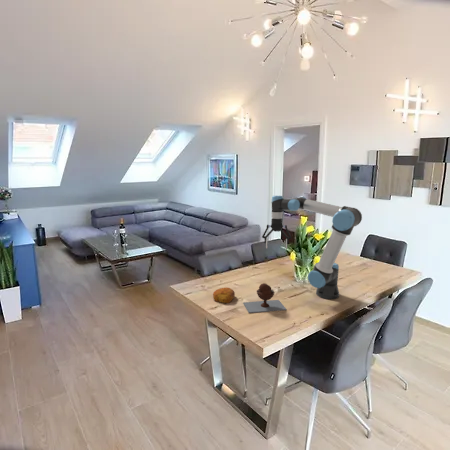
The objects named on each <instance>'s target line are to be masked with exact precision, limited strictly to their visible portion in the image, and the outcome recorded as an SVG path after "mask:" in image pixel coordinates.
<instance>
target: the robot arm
mask: <svg viewBox="0 0 450 450" xmlns="http://www.w3.org/2000/svg"><path fill="white" fill-rule="evenodd" d="M299 209H300V210H304V211H307V212H312V213H316V214H320V215H324V216H327V217H331V218H332V221H331V222H332V225H331V229H332V232H331V234H330V236H329V238H328V241H327V243H326V245H325V247H324V249H323V252H322V255H321V256H320V259H319V261H318V262H316V263H315V264H314V266H313V269H312V270H311V271H309V273H307V280H308V282H309V284H310V285H311V286H312V287H313V288H316V290H315V294H316V295H317V296H318V297H319V298H321V299H325V300H336V299H339V297H340V291H339V288H338V282H339V281H338V279H339V270H340V266H339V264H338V263H336V260H337V258H338V256H339V253H340V251H341V249H342V247H343V245H344V243H345V240H346V238H347V236H350V235H351V234H352V232H353V229H354V227H357V226H359V224H361V222H362V220H363V214H362V212H361V211H360V210H359V209H358V208H356V207H351V206H346V205H344V206H339V205H334V204H330V203H326V202H321V201H317V200H313V199H309V198H308V199H307V197H304V196H298V197H294V198H284V197H283V195H272V197H271V224H267V225H266V229H265V230H264V232H263V234H262V236H261V238H262V239H264V244H265V248H266V249H268V237H269V236H270V235H271V234H272V233H273V232H280V233H281V234H282V235H283V236H284V237H285V238H286V239H285V250H287V248H288V245H289V244H290V243H289V241H290V240H291V239H292V235H291V233H290V231H289V229H288V225H287V224H285V225H284V224H283V213H284V211H291V212H293V211H295V212H296V211H298V210H299ZM270 228H271V230H270V231H269V232H268V230H269V229H270ZM283 228H284V230H285V231H286V233H287V234H286V233H285V232H284V230H283Z"/></svg>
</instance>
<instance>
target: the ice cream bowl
mask: <svg viewBox="0 0 450 450" xmlns="http://www.w3.org/2000/svg"><path fill="white" fill-rule="evenodd" d="M256 294H257V296H258V298H259V299H261V301H264V303H262V304H261V307H264V308H267V307H269V304H267V301H269V300H272V298H273V297H274V295H275V290H273V289H272V287H271V286H270V285H269V284H267V283H266V282H263V283H261V284H260V285H259V287H258V289H257V290H256Z"/></svg>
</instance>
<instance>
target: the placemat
mask: <svg viewBox="0 0 450 450" xmlns="http://www.w3.org/2000/svg"><path fill="white" fill-rule="evenodd" d="M262 303H264V300H257V301H246V302H245V301H244V302H242V304H243V306H244V307H245V310H246V311H247V312H248V314H254V313H255V314H256V313H266V312H267V313H269V312H277V311H278V312H280V311H287V308H286V306H285V305H284V303H282V301H281V300H279V299H269V300H267V304H269V307H267V308H264V307H261V304H262Z"/></svg>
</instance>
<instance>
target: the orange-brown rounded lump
mask: <svg viewBox="0 0 450 450" xmlns="http://www.w3.org/2000/svg"><path fill="white" fill-rule="evenodd" d="M235 293H236V292H235V290H234V289H232V288H230V287H226V286H225V287H220V288H218V289H215V290H214V291H213V293H212V297H213V300H214V301H215V302H217V303H224V304H229V303H231V302H232V301H233V299H234V297H235V295H236V294H235Z"/></svg>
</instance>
